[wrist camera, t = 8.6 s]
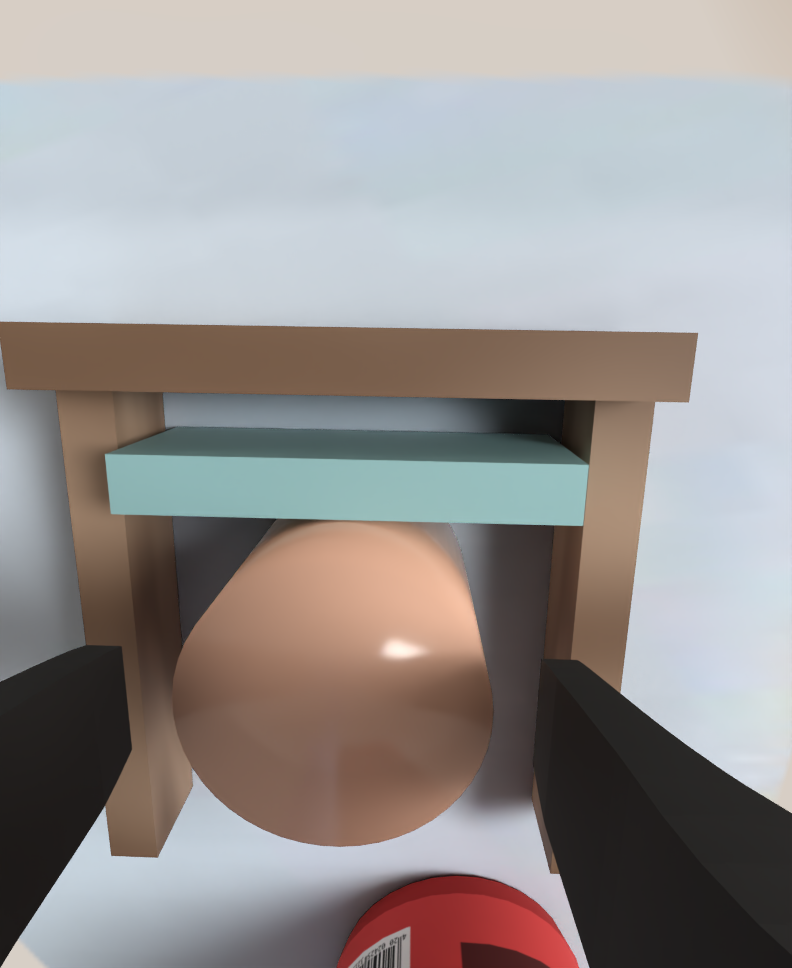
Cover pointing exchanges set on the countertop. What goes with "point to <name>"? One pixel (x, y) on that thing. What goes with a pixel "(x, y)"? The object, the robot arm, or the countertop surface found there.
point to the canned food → (456, 929)
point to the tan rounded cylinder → (338, 682)
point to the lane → (340, 372)
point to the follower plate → (350, 476)
